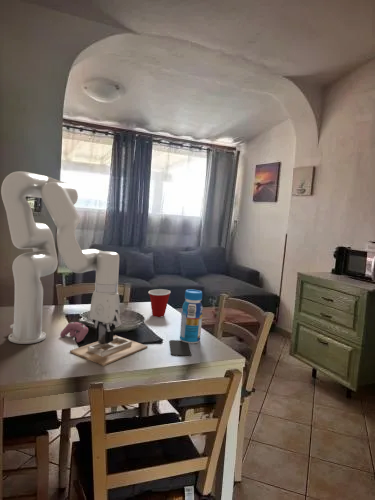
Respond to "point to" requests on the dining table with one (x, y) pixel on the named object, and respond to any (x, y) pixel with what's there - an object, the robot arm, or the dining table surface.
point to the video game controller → (72, 329)
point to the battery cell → (102, 333)
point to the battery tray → (108, 350)
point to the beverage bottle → (191, 317)
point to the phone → (179, 348)
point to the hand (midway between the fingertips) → (104, 339)
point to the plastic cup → (159, 301)
